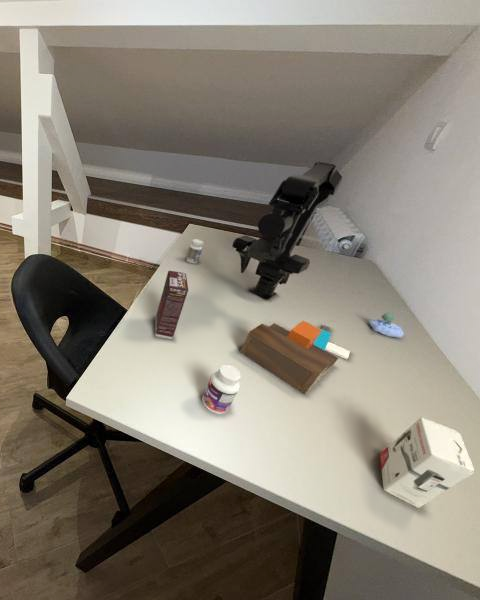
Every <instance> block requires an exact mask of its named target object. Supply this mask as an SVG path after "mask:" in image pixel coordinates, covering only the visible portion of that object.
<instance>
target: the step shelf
mask: <svg viewBox="0 0 480 600" xmlns="http://www.w3.org/2000/svg"><path fill="white" fill-rule="evenodd" d="M290 331H291V330H289V329H288V330H287V329H286V328H284V327H282V326H280V324H279V325H278V323H272V324H270V325H269V326H267V325H266V324H264V323H260V324H259V325H258V326H256V327H254V328H252V329H250V330H249V332H248V335H247V336H246V338H245V340H244V342H243V344H242V347H241V349H240V350H239V353H240V354H242V355H243V356H245V357H247V358H248V359H250V360H252V361H253V362H254V363H256V364H257V365H259V366H261V367H262V368H264V369H265V370H267V372H270V374H273V375H274V376H276V377H277V378H279V379H280V380H282V381H284V382H285V383H287V384H288V385H290V386H291V387H293V388H294V389H295V390H297V391H299V392H300V393H302V394H304V395H306V394H307V393H308V392H309V391H310V390H311V389H312V388H313V387H314V386H315V385H316V384H317V383H318V382H319V381H320V380H321V379H322V378H323V377H324V376H325V375H326V374H327V372H329V371H330V370H331V368H333V366H334V365H335V363H336V362H337V361H338V360H339V357H338V356H337V355H335V354H333V353H331V352H329V351H327V350H323V349H321V348H319V347H317V346H315V345H314V344H313V345H312V346H311V347H310V348H309V349H307V348H305V347H303V346H302V345H300V344H298V343H296V342H294V341H293V340H291V339H289V338H287V336H288V334H289V333H290Z"/></svg>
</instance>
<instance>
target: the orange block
mask: <svg viewBox="0 0 480 600" xmlns="http://www.w3.org/2000/svg"><path fill="white" fill-rule="evenodd" d="M317 327H318V326H315V325H313V324H311V323H309V322H307V321H305V320H302V321H301V322H300V323H298V324H297V325H296V326H294V327H292V328H291V329H290V330H289V331H290V333H289V334H288V336H287V338H289V339H291V340H293V341H294V342H296V343H298V344H300V345H302V346H303V347H305V348H307V349H309V348H310V347H311V346H312V345H313V344H314V342H315V341H316V339H317V338H318V336H319V335H320V333H321V332H322V330H321V329H322V328H320V327H318V328H317ZM319 328H320V329H319Z"/></svg>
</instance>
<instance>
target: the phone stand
mask: <svg viewBox="0 0 480 600" xmlns="http://www.w3.org/2000/svg"><path fill="white" fill-rule="evenodd" d="M316 327H317V328H319V329H321V330H322V332H321V333H320V335H319V336H318V338H317V339H316V341H315V342H314V345H315V346H317V347H319V348H321V349H323V350H325V351H326V352H328V353H330V354H332V355H334V356H337V357H340V358H342V359H344V360H348V359H349V356H350V354H351V350H348V349H347V348H344V347H342V346H339V345H337V344H335V343H332V342H330V338H331V336H332V333H331V332H329V331H330V329H331V327H329V326H327V325H323V326H322V328H321V327H318V326H316Z"/></svg>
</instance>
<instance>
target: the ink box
mask: <svg viewBox="0 0 480 600" xmlns="http://www.w3.org/2000/svg"><path fill="white" fill-rule="evenodd" d="M379 463H380V470H381V478H382V485H383V486H382V487H383V491H385V492H387V493H388V494H390V495H392V496H394V497H396V498H397V499H400V500H402V501H403V502H406V503H407V504H409V505H410V506H411V505H412V506H413V507H415V508H418V509H419V508H422V507H423V506H424V505H425V504H427V503H429V502H430V501H432V500H433V499H435V498H436V497H438V496H440V495H442V493H444V492H446V491H447V490H449V489H451V488H453V487H454V486H456V485H457V484H459V483H461V482H462V481H464V480H465V479H466V478H468V477H470V476H471V475H473V474H474V471H475V468H474V466H473V463H472V460H471V458H470V456H469V452H468V450H467V448H466V445H465V442H464V439H463V437H462V434H461V433H460V432H458V431H457V430H454V429H453V428H451V427H448V426H446V425H443V424H440V423H438V422H436V421H433V420H430V419H428V418H425V417H422V416H421V417H419V419H417V420H416V421H415V422H414V423H413V424H411V425H410V427H408V428H407V429H406V430H405V431H404V432H403V433H401V434H400V435H399V436H398V437H396V439H394V440H393V441H392V442H391V443H390V444H388V446H386V447H385V448H384V449H383V450H382V451H380V452H379Z"/></svg>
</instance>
